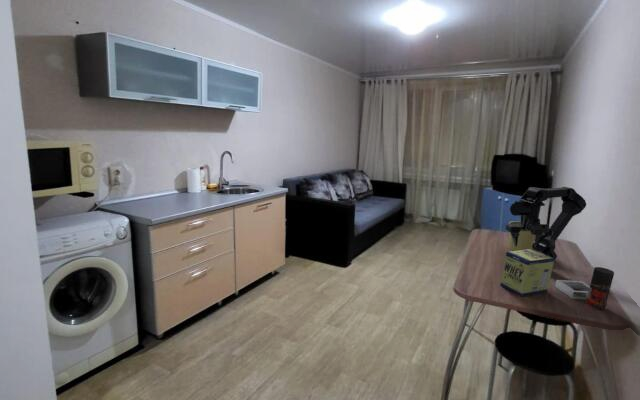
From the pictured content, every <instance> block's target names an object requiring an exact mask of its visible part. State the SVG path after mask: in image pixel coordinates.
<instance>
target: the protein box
mask: <svg viewBox="0 0 640 400" xmlns="http://www.w3.org/2000/svg"><path fill="white" fill-rule="evenodd" d="M504 258H505V259H504V264H503V267H502V268H503V269H502V273H501V278H500V279H501V280H500V287H502V288H504V289H506V290H508V291H509V292H512V293H513V294H515V295H517V296H519V297H527V296H533V295H539V294H545V293H548V291H549V285H550V281H551V276H552V271H553V268H554V262H555V260H554V259H555V258H553V257H551V256H548V255H546V254H543V253H541V252H538V251H536V250H533V249H527V250H519V251H511V250H509V251H506V252H505V257H504Z"/></svg>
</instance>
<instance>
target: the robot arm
mask: <svg viewBox="0 0 640 400" xmlns="http://www.w3.org/2000/svg"><path fill="white" fill-rule="evenodd" d="M552 198H553V199H554V198H560V200H561V201H562V203H561V212H560V213H559V214H558V215H557V218H555V220H554V221H553V222H552V224H551V225H550V226H549V224H548V223H547V224H542V223H541V218H540V212H541V207H544V206H545V203H544V202H546V201H548V200H549V199H552ZM529 199H530V200H529ZM586 207H587V202H586V200H585V198H584V197H583V196H582V195H580V194H579V193H578V192H577V191H576V190H575V189H574V188H572V187H568V186H562V187H551V188H541V187H540V188H539V187H533V186H530V187H528V189H526V191H525V192H524V193H523V195H521V196H520V198H519V200H514V203H512V204H511V205H510V207H509V211H510V214H511V215H513V216H516V217H517V216H518V217H521V215H523V218H524V220H523V224H522V223H521V226H522V227H519V226H517V225H516V224H509V223H508V224H506V225H505V230H506V231H507V232H508V233H509V232H510V233H511V235H512V238H513V242H514V245H515V246H517V243H518V236H519V235H520V234H519V232H520V231H530V232H531V234H533V235H536V236H535V241H534V242H533V245H532V249H533V250H536V251H538V252H541V253H543V254H546V255H548V256H551V257H553V258H555V259H554V261H555V260H556V259H557V257H558V255H557V253H556V251H555V249H556V241H557V239H558V237H560V235H561V234H562V232H563V231H564V230H565V228H566V227H567V226H568V224H569V222H570V221H571V220H572V218H573V217H575V216H577V215H579V214H580V213H582V212H583V210H584V209H585V208H586Z"/></svg>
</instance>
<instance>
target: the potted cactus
mask: <svg viewBox="0 0 640 400" xmlns="http://www.w3.org/2000/svg"><path fill="white" fill-rule="evenodd" d="M529 200H530V199H529ZM523 220H524V218H523V215H520V220H519V221H514V220H513V221H509V222H508V224H516V225H517V226H519V227H522V226H521V223H522V224H523ZM519 234H520V235H519V236H518V243H517V246H515V245H514V242H513V238H512V235H511V233H510V232H509V231H508V249H509V251H519V250H527V249H532V245H533V242H534V241H535V236H536V235H533V234H531V232H530V231H520V232H519Z"/></svg>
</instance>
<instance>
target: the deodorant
mask: <svg viewBox="0 0 640 400" xmlns="http://www.w3.org/2000/svg"><path fill="white" fill-rule="evenodd" d="M614 276H615V272H614V271H613V270H611V269H609V268H605V267H601V266H600V267H599V266H595V267H594V268H593V272H592V276H591V280H590V285H589V286H590V288H589V292H588V296H587V300H586V299H585V300H586V301H585V304H586V306H587V305H588V306H587V307H589V308H591V307H592V308H591V309H593V308H595V309H594V310H597V309H601V310H600V311H604V310H603V309H605V310H606V306H607V302H608V298H609V294H610V292H611V287H612V283H613V279H614Z"/></svg>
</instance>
